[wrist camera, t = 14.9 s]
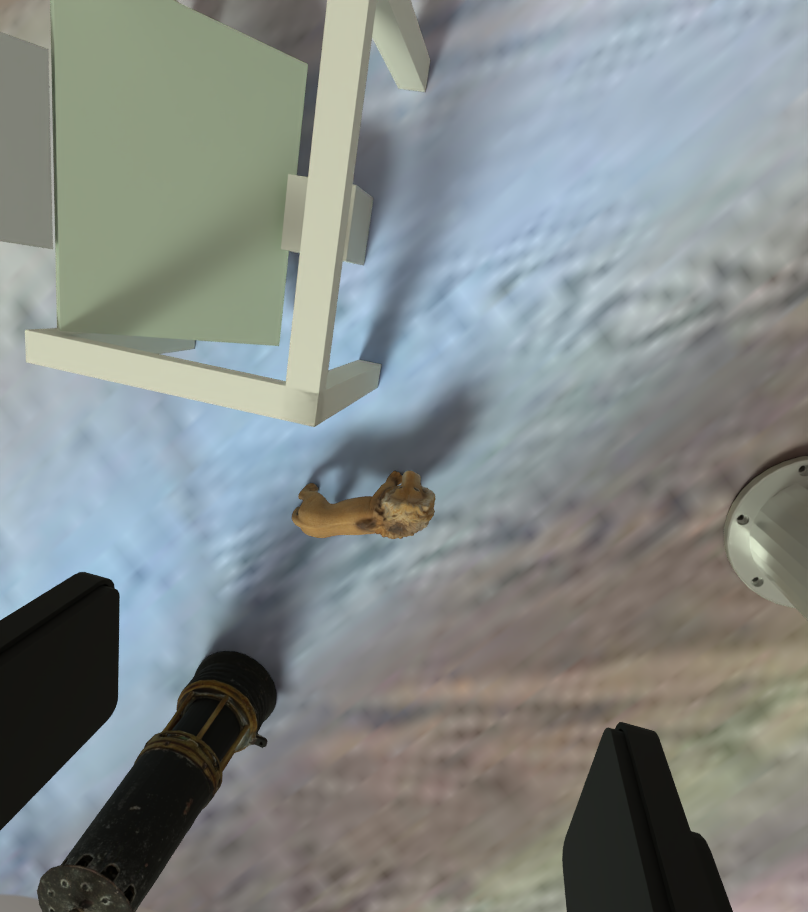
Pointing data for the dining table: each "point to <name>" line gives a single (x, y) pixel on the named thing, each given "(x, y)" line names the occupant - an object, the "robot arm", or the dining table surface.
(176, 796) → the lantern
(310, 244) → the trapdoor frame
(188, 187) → the trapdoor plate
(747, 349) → the dining table surface
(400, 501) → the lion figurine
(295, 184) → the stone block
